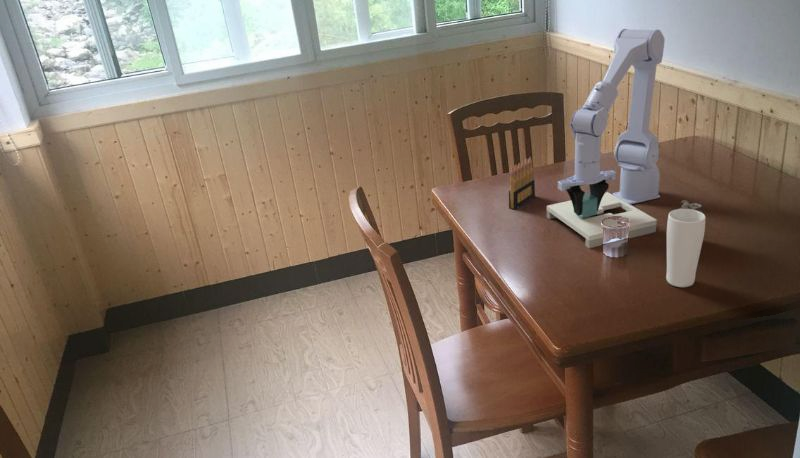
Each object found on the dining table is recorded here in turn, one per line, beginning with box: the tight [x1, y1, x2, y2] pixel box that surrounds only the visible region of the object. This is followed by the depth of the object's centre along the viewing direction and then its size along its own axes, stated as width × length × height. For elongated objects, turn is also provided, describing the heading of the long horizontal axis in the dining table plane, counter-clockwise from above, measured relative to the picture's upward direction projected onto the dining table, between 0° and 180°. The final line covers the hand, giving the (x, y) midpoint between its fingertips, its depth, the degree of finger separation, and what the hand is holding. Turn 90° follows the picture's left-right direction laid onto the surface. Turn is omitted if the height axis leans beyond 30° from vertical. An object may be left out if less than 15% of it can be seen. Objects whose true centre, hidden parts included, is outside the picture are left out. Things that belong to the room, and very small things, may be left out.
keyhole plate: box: [546, 191, 658, 249], centre depth 153 cm, size 18×20×3 cm
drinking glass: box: [665, 208, 707, 288], centre depth 123 cm, size 7×7×15 cm
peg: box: [579, 192, 598, 219], centre depth 151 cm, size 4×4×8 cm
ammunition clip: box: [508, 156, 536, 210], centre depth 168 cm, size 11×2×12 cm, turn 138°
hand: (586, 211), depth 151 cm, fingers closed on peg, 4 cm apart
